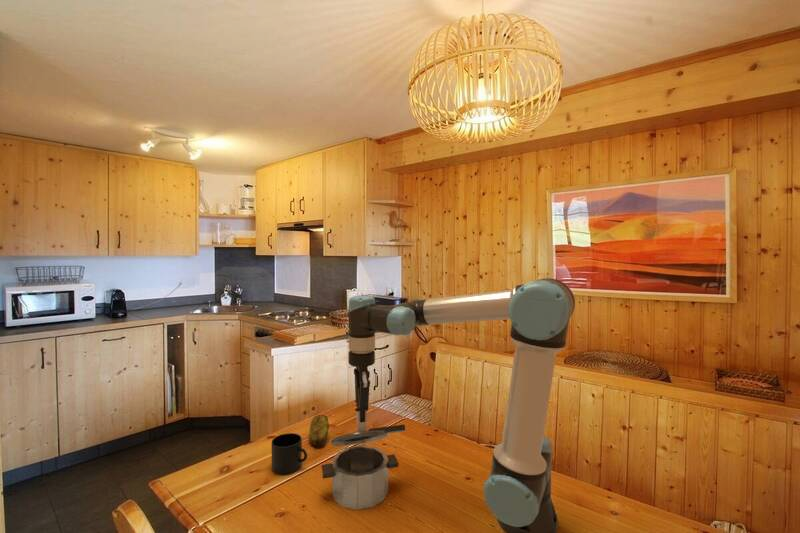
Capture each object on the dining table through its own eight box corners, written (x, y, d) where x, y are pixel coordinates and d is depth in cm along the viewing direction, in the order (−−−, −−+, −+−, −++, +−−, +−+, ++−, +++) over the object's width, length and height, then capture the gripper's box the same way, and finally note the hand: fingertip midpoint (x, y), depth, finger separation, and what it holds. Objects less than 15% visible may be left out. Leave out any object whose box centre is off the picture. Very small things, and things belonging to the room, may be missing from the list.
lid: (411, 429, 109) (410, 419, 110) (333, 439, 103) (333, 428, 104) (398, 438, 123) (397, 430, 124) (329, 448, 117) (328, 439, 118)
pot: (403, 501, 106) (403, 469, 106) (324, 515, 101) (324, 481, 100) (388, 467, 123) (388, 439, 123) (320, 478, 117) (320, 448, 117)
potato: (301, 448, 135) (301, 426, 135) (314, 431, 148) (314, 411, 148) (323, 449, 134) (323, 427, 134) (334, 432, 147) (334, 412, 147)
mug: (299, 478, 117) (299, 450, 117) (265, 472, 120) (265, 444, 120) (313, 462, 126) (313, 435, 126) (282, 457, 129) (282, 431, 129)
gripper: (345, 345, 113) (345, 422, 114) (351, 357, 100) (351, 444, 101) (370, 343, 115) (370, 419, 116) (379, 355, 102) (379, 440, 103)
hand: (361, 431), depth 109 cm, fingers closed
